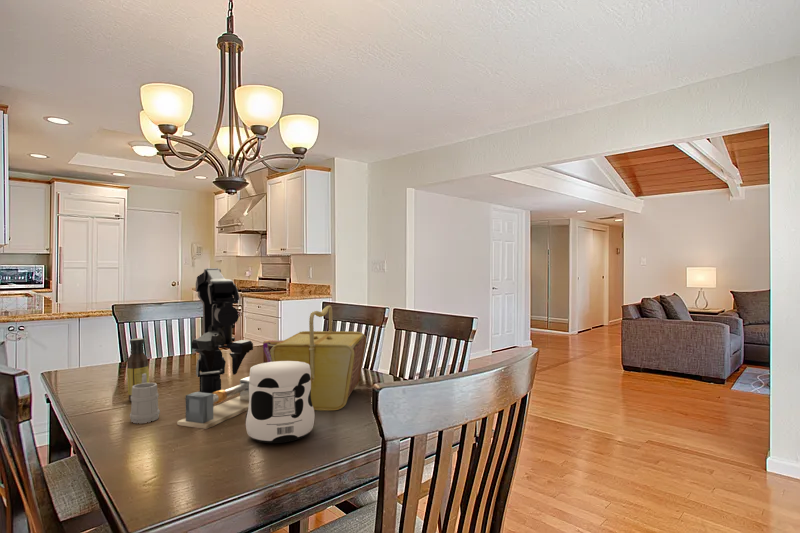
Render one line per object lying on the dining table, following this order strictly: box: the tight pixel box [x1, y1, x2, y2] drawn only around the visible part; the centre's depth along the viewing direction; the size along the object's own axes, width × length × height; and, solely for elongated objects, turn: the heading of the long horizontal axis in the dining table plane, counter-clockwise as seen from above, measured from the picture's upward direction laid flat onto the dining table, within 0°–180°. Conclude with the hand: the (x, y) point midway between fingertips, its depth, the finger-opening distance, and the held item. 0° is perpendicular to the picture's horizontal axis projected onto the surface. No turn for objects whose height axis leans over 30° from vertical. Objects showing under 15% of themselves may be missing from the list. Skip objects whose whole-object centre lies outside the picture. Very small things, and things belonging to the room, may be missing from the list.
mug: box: [129, 374, 161, 424], centre depth 139 cm, size 8×12×12 cm, turn 30°
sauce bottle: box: [126, 337, 150, 402], centre depth 158 cm, size 6×6×20 cm
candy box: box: [262, 339, 285, 363], centre depth 182 cm, size 9×4×15 cm, turn 89°
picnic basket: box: [270, 304, 367, 412], centre depth 157 cm, size 29×26×30 cm
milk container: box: [244, 361, 315, 444], centre depth 123 cm, size 17×17×18 cm
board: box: [176, 395, 249, 430], centre depth 146 cm, size 33×10×1 cm, turn 161°
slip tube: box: [212, 382, 249, 405], centre depth 144 cm, size 22×3×3 cm, turn 161°
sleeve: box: [239, 376, 249, 401], centre depth 157 cm, size 9×4×6 cm, turn 161°
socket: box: [185, 391, 214, 423], centre depth 133 cm, size 4×6×7 cm, turn 71°
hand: (222, 373), depth 145 cm, fingers open, 9 cm apart
